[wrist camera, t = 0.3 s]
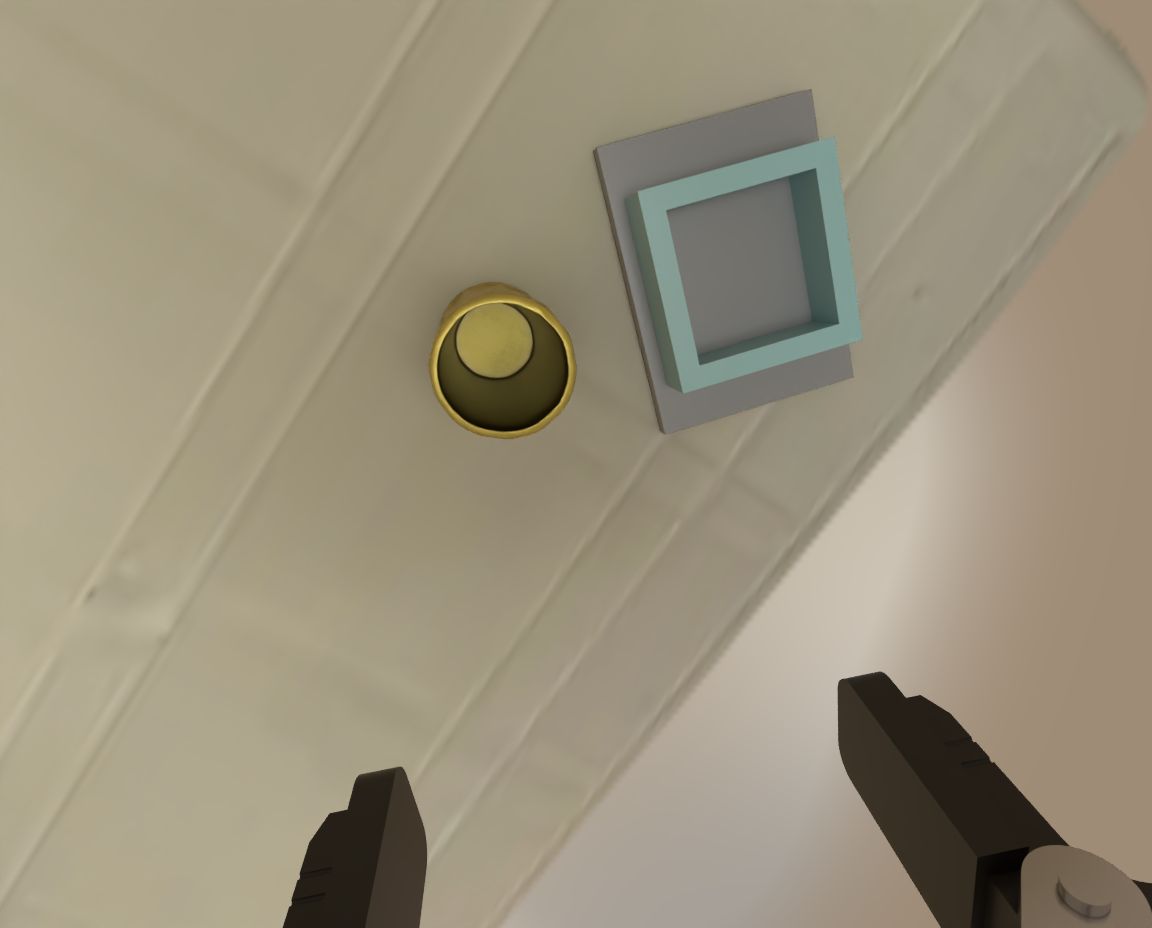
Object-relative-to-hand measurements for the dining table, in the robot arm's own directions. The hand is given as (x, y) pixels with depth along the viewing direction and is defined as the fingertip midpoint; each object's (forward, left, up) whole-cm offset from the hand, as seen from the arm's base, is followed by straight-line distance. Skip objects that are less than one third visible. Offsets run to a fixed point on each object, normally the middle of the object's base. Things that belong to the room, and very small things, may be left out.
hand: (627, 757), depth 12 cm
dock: (-6, +14, -28) cm, 32 cm away
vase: (-6, 0, -28) cm, 29 cm away
